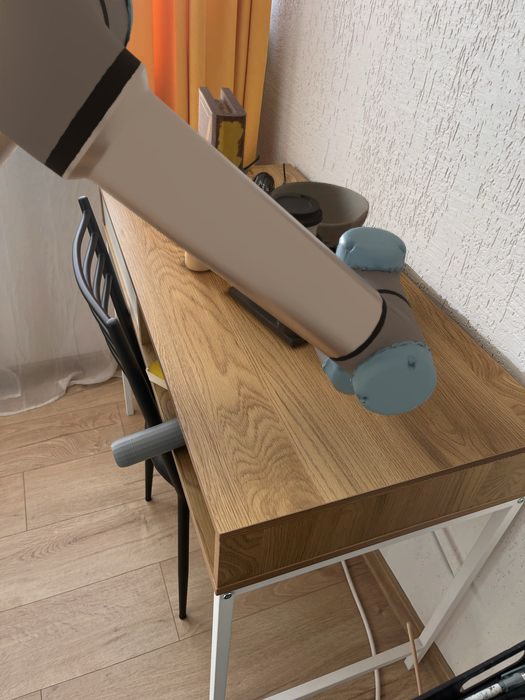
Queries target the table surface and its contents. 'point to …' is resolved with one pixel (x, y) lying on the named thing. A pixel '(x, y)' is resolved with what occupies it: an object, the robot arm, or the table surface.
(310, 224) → the coffee cup
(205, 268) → the candle
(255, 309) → the scale
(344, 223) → the bowl
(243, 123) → the book
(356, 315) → the robot arm
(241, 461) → the table surface
